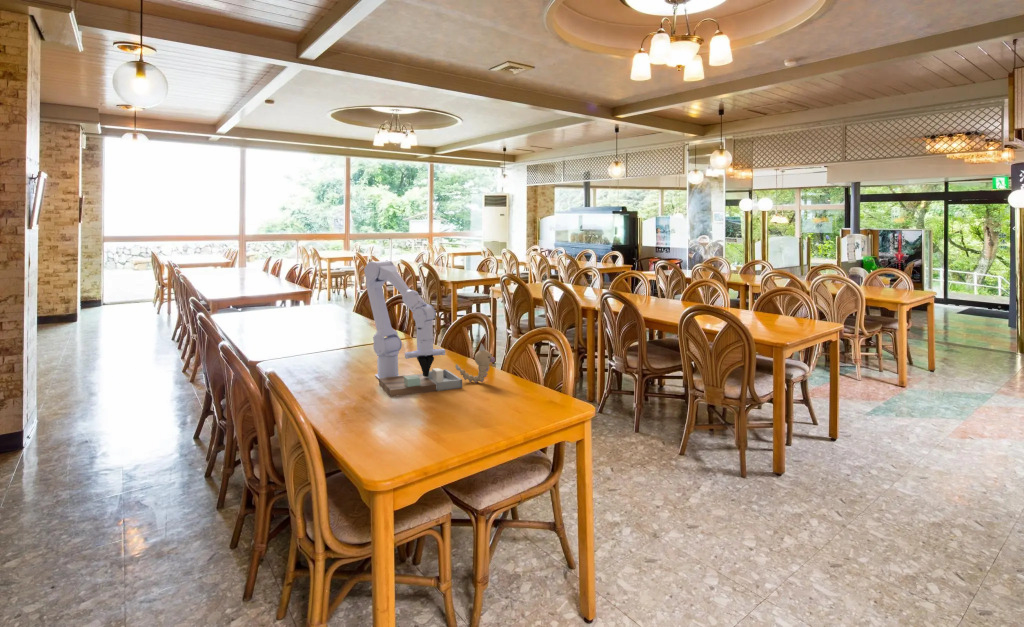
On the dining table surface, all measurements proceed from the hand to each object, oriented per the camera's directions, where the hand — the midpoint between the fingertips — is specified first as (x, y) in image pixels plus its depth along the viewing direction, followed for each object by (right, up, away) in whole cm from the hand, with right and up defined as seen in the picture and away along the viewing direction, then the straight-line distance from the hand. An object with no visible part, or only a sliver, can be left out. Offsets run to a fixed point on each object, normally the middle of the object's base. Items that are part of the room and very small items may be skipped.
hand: (425, 376), depth 211 cm
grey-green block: (-3, -2, -9) cm, 10 cm away
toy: (+18, -3, +3) cm, 18 cm away
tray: (+6, -3, +1) cm, 7 cm away
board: (-6, -4, -5) cm, 8 cm away
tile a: (+3, 0, +1) cm, 3 cm away
